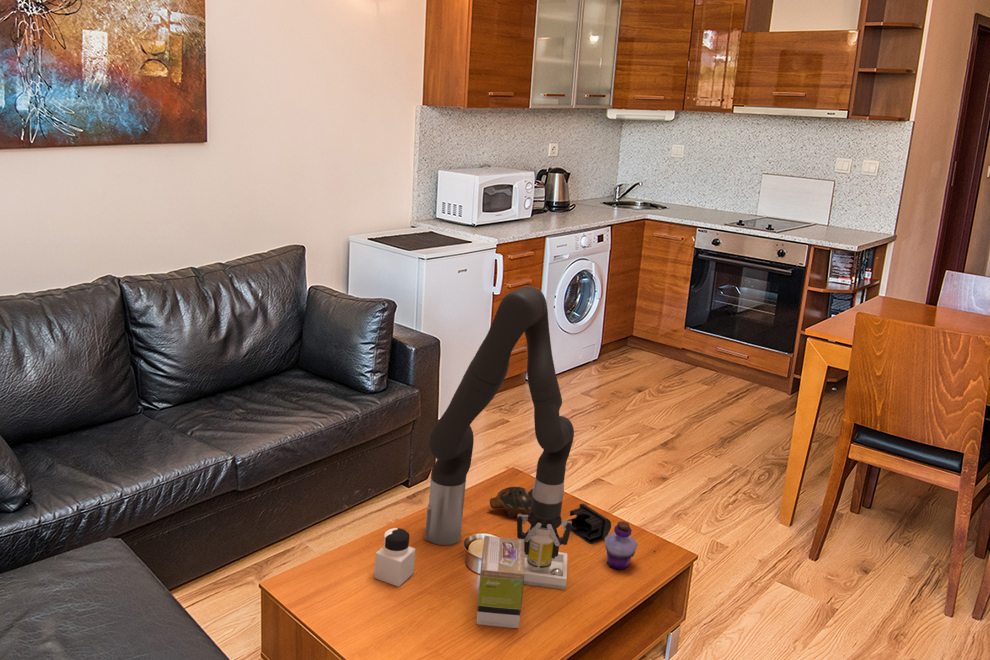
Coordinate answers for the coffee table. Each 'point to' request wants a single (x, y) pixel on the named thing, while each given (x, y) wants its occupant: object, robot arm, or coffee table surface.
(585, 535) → the end cap
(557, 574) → the steel ball
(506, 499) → the decorative turtle
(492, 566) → the tea box
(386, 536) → the medicine bottle
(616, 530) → the potion bottle
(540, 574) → the tray
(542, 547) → the pill bottle
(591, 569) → the coffee table surface
